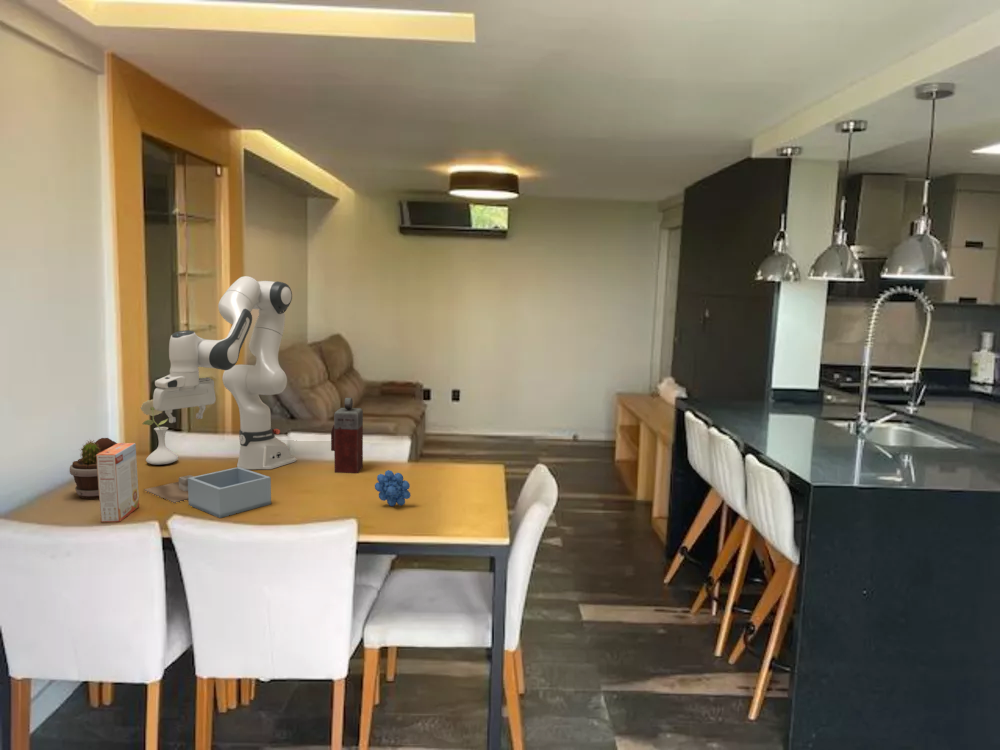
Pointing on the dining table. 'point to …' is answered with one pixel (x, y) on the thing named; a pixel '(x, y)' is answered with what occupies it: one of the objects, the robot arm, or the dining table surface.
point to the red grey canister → (348, 438)
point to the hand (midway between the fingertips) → (186, 420)
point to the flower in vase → (162, 452)
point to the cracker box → (117, 482)
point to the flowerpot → (86, 472)
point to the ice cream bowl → (104, 444)
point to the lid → (172, 490)
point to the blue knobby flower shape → (392, 488)
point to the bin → (229, 491)
